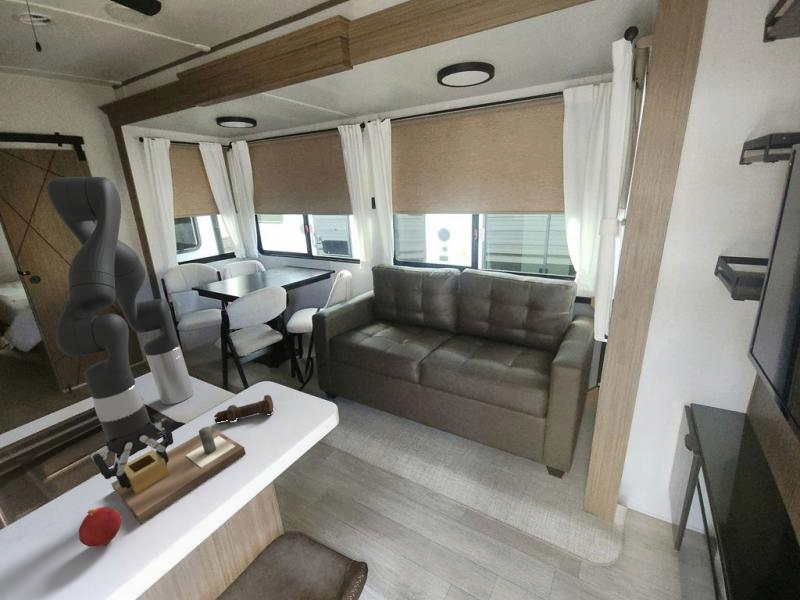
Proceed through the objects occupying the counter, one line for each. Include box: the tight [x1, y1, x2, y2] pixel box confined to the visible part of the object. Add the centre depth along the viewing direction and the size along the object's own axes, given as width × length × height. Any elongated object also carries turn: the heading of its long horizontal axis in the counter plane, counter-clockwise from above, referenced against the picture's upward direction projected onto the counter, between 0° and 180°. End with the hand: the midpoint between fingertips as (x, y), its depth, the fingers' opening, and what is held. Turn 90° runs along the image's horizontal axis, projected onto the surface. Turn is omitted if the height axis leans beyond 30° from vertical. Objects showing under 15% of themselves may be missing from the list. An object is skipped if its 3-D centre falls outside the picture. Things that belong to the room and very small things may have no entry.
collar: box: [124, 449, 169, 494], centre depth 76 cm, size 6×6×4 cm
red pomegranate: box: [78, 506, 122, 547], centre depth 63 cm, size 6×6×8 cm
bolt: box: [213, 394, 274, 424], centre depth 99 cm, size 6×5×15 cm
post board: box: [110, 426, 247, 525], centre depth 80 cm, size 16×22×8 cm
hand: (146, 475), depth 77 cm, fingers closed on collar, 6 cm apart
